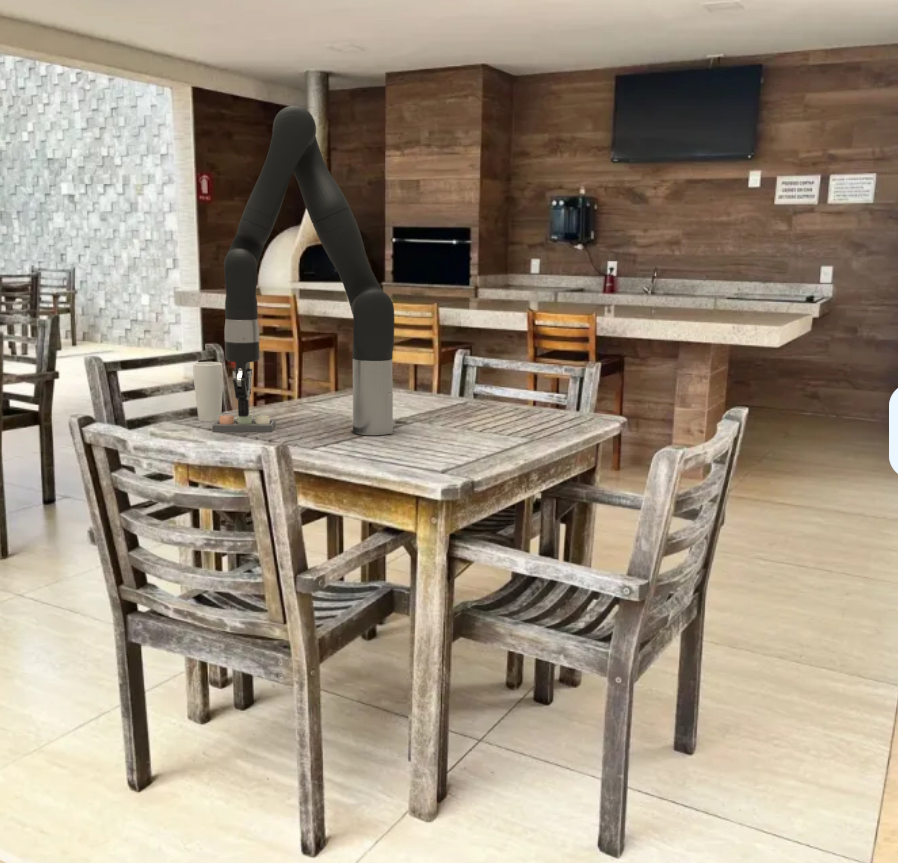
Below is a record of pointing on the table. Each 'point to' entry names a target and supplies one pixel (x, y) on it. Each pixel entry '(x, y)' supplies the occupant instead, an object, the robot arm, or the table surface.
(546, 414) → the table surface
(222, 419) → the button terracotta
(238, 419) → the button sage
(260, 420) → the button cream
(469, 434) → the table surface
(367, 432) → the robot arm
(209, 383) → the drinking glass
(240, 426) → the dark grey tray
